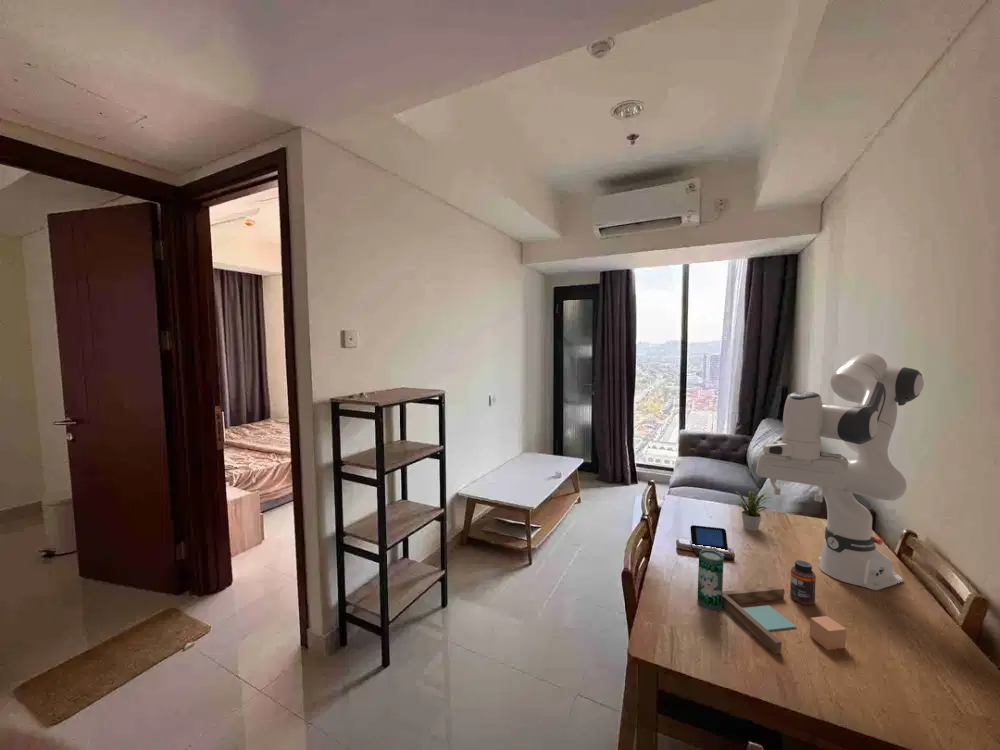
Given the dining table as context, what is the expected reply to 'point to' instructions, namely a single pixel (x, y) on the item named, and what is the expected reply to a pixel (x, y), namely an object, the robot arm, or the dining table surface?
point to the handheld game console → (710, 539)
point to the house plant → (751, 511)
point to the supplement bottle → (802, 583)
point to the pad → (769, 618)
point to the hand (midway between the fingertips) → (797, 497)
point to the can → (710, 580)
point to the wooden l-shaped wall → (747, 620)
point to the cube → (827, 632)
